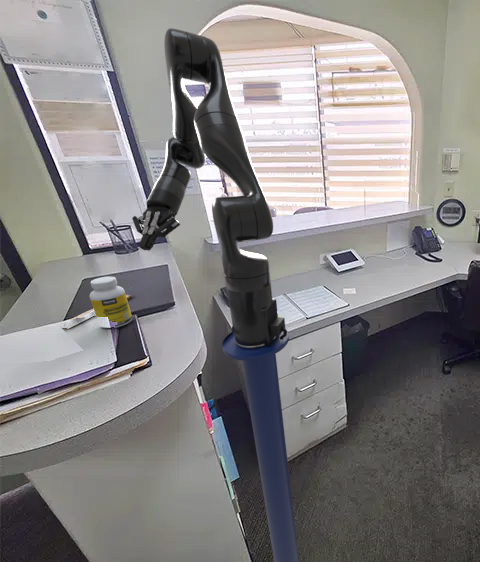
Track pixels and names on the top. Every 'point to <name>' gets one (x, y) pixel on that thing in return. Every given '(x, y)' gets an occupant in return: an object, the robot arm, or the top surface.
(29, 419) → the top surface
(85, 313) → the ruler
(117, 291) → the pill bottle
